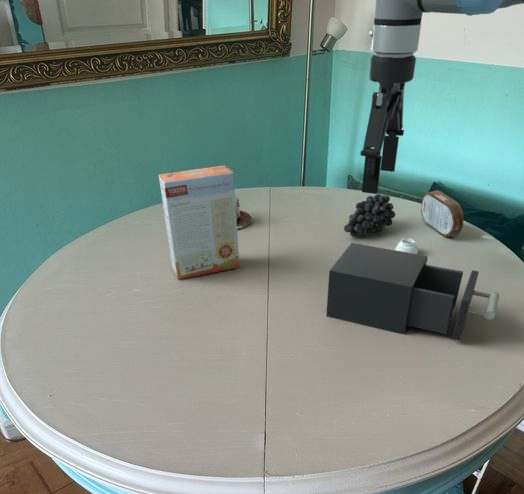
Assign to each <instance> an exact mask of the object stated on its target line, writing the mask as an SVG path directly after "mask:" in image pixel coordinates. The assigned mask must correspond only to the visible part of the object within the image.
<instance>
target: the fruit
mask: <svg viewBox="0 0 524 494" xmlns="http://www.w3.org/2000/svg"><path fill="white" fill-rule="evenodd" d="M390 201H391V197H390V195H388V194H382V195H381V194H380V193H377V194H374V195H373V196H372V195H368V196H367V197H366V198H365V200H362V201H360V202H356V204H355V211H354V213H352V214H350V215H349V217H348V219H349V220H348V222H347V224H346V225H344V227H343V231H344V232H345V233H349V236H351V237H352V238H356V237H358V235H359V234H360V233H362V234H363V235H365V236H368V235H369V234H370V233H371V232H372V233H374V232H376V231H379V232H382V231H384V230H385V226H386V227H389V226H392V224H393V219H394V218H395V217H396V212H395V211H394V204H393V203H391V202H390Z"/></svg>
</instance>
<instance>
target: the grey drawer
mask: <svg viewBox="0 0 524 494" xmlns="http://www.w3.org/2000/svg"><path fill="white" fill-rule="evenodd" d="M479 273H480V272H479V270H478V271H477V270H471V271H470V275H469V278H468V280H467V283H466V287H465V289H464V292H463V296H462V299H461V302H460V306H459V310H458V314H457V319H456V322H455V327H454V331H453V334H452V340H453V341H458V342H460V340H461V337H462V334H463V332H464V327H465V324H466V321H467V318H468V314H469V313H473V314H478V315H483V316H484V318H485V319H487V320H493V319H494V318H495V317H496V313H497V308H498V303H499V299H500V293H499V292H497V291H491V292H490V293H488V292H483V291H478V290H475V288H476V286H477V285H476V284H477V280H478V277H479ZM463 276H464V271H462V270H457V269H451V268H445V267H441V266H436V265H435V266H434V265H430V264H426V265H424V267H423V269H422V271H421V273H420V275H419V277H418V279H417V281H416V283H415V285H414V287H413V290H412V296H411V301H410V307H409V313H408V318H407V324H406V325H408V327H413V328H418V329H423V330H427V331H431V332H435V333H440V334H444V335H446V334H447V331H448V329H449V325H450V322H451V319H452V316H453V313H454V311H455V308H456V305H457V301H458V296H459V292H460V288H461V284H462V279H463ZM473 296H476V297H481V298H486V299H487V303H486V307H485V309H481V308H476V307H471V304H472V300H473Z"/></svg>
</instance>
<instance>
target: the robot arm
mask: <svg viewBox="0 0 524 494" xmlns="http://www.w3.org/2000/svg"><path fill="white" fill-rule="evenodd" d="M522 4H524V0H375V10H374V19H373V29H372V30H370V31H369V37H370V38H372V40H371V51H372V53H374V54H371V57H370V59H369V69H368V80H370V81H371V82H373V83H378V84H379V87H378V91H374V92H373V94H372V97H371V98H372V99H371V106H370V107H371V108H370V111H369V117H368V122H367V127H366V131H365V136H364V141H363V148H362V150H360V157H364V165H363V176H362V186H361V193H365V194H372V195H376V194H378V191H379V184H380V175H381V173H380V172H381V171H383V172H391V173H393V172H395V170H396V162H397V156H398V155H397V154H398V146H399V140H400V137H403V136H404V133H405V130H404V129H403V123H404V97H405V95H404V94H405V86H406V83H409V82H411V81H412V80H413V79H414V77H415V69H416V62H417V57H416V55H414V54H415V53H417V51H418V50H419V44H420V36H421V27H422V19H423V14H424V13H426V14H427V13H428V14H429V13H435V14H436V13H437V14H453V15H456V14H457V15H466V16H470V17H472V16H479V15H490V14H493V13H495V12H496V11H497V10H498V9H506V8H510V7H512V6H516V5H517V6H518V5H522ZM399 136H400V137H399Z"/></svg>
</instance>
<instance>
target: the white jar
mask: <svg viewBox="0 0 524 494" xmlns="http://www.w3.org/2000/svg"><path fill="white" fill-rule="evenodd" d="M394 250H396V251H401V252H407V253H412V254H418V253H419V249H418V247H417V244H416V241H415V240H414V239H413V238H408V237H407V238H402V239H401V240H400V241H399V242H398V243H397V244H396V246H395V247H394Z"/></svg>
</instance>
